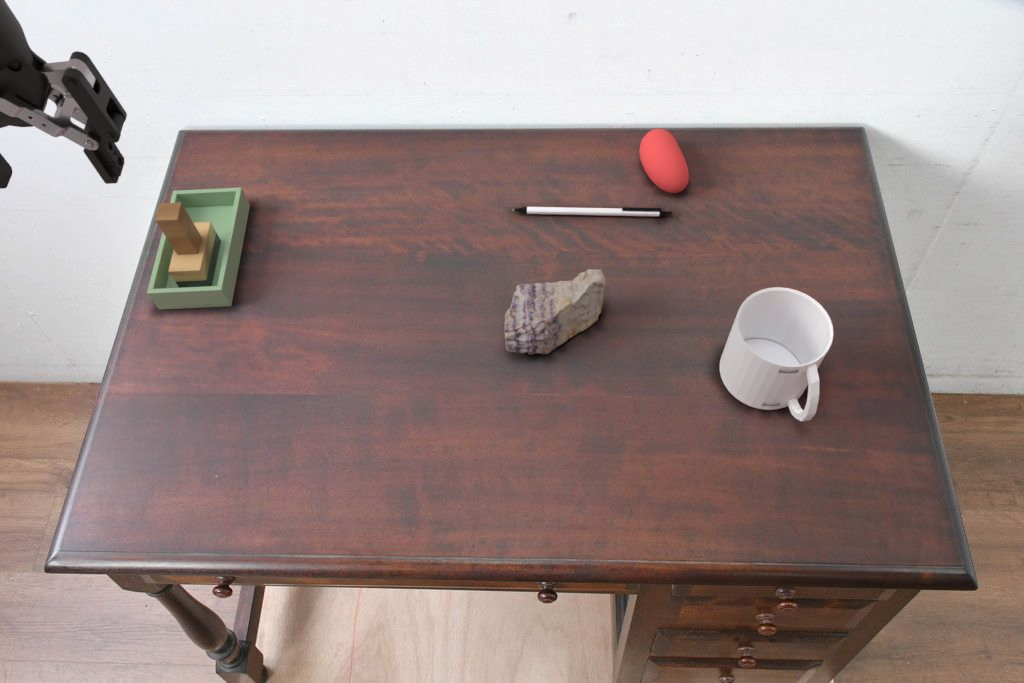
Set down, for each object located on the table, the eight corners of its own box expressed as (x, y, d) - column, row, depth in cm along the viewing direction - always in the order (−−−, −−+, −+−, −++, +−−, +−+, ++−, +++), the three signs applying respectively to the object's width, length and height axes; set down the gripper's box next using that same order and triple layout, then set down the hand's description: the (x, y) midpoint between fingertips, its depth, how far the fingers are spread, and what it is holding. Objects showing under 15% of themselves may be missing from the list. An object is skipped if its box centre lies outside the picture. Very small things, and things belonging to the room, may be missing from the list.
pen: (671, 218, 95) (672, 212, 94) (512, 215, 96) (512, 209, 96) (671, 212, 96) (672, 206, 95) (512, 209, 97) (512, 203, 96)
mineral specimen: (572, 273, 92) (574, 238, 86) (612, 314, 89) (616, 281, 83) (482, 328, 88) (478, 296, 83) (520, 373, 85) (518, 343, 80)
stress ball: (633, 202, 99) (659, 183, 93) (628, 133, 100) (653, 111, 94) (669, 205, 101) (697, 187, 95) (664, 138, 102) (690, 116, 96)
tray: (231, 306, 91) (221, 289, 88) (158, 309, 91) (146, 293, 88) (250, 205, 99) (241, 187, 96) (183, 208, 99) (172, 190, 96)
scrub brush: (211, 288, 92) (178, 236, 84) (180, 289, 92) (144, 237, 84) (221, 240, 95) (190, 185, 87) (191, 241, 95) (158, 187, 87)
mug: (708, 343, 86) (724, 294, 78) (789, 331, 87) (813, 281, 79) (741, 444, 80) (763, 401, 72) (828, 430, 80) (860, 386, 72)
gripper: (-228, 35, 46) (-48, 220, 59) (18, 23, 45) (141, 211, 59) (-173, -43, 49) (-16, 147, 63) (53, -55, 49) (162, 138, 63)
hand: (60, 178), depth 61 cm, fingers open, 8 cm apart
